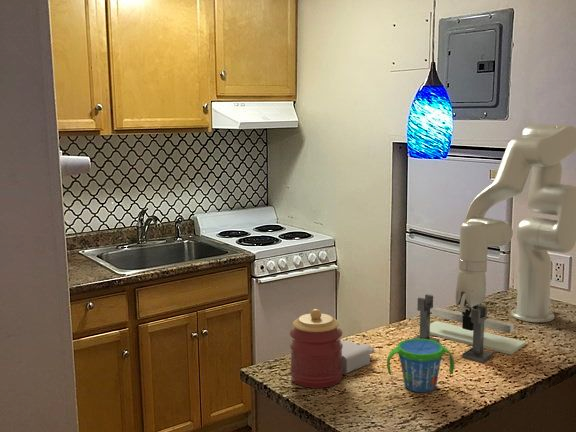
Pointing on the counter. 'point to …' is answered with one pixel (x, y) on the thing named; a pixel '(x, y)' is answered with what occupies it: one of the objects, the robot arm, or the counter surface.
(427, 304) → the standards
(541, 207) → the robot arm
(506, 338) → the board
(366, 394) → the counter surface
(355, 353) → the charger
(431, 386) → the snack cup
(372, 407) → the counter surface
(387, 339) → the counter surface
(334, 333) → the canister
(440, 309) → the rail
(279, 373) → the counter surface
